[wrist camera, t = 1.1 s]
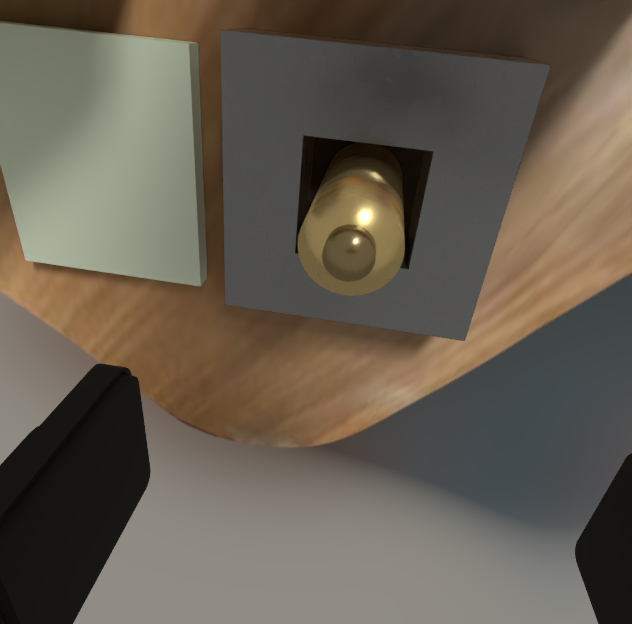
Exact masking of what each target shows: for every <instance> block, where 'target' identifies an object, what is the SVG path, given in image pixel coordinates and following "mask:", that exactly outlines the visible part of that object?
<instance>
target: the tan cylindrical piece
mask: <svg viewBox="0 0 632 624" xmlns="http://www.w3.org/2000/svg"><path fill="white" fill-rule="evenodd" d="M404 252H405V238H404V210H403V182H402V171H401V168H400V165H399V163H398V161H397V159H396V158H395V156H394V155H393V154H392V153H391V152H390V151H389V150H388V149H386V148H385V147H383V146H381V145H378V144H370V143H362V142H358V143H354V144H351V145H349V146H347V147H345V148H343V149H342V150H341V151H339V152H338V153H337V154H336V156H335V157H334V158H333V160H332V161H331V163H330V165H329V167H328V170H327V172H326V174H325V176H324V178H323V181H322V183H321V185H320V187H319V189H318V191H317V194H316V196H315V198H314V200H313V202H312V205H311V207H310V209H309V211H308V213H307V215H306V218H305V220H304V222H303V224H302V226H301V229H300V232H299V236H298V254H299V258H300V261H301V263H302V266H303V267H304V269H305V271H306V272H307V274H308V275H309V276H310V277H311V278H312V279H313V280H314V281H315V282H316V283H317V284H318V285H320V286H321V287H323V288H325V289H327V290H329V291H331V292H334V293H337V294H342V295H349V296H355V295H364V294H368V293H371V292H374V291H376V290H378V289H380V288H382V287H383V286H385V285H386V284H387V283H388V282H390V281H391V280H392V279H393V277H394V276H395V275H396V274H397V272H398V270H399V269H400V266H401V264H402V262H403V258H404Z"/></svg>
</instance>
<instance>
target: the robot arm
mask: <svg viewBox="0 0 632 624" xmlns="http://www.w3.org/2000/svg"><path fill="white" fill-rule="evenodd" d="M149 478H150V463H149V456H148V448H147V441H146V433H145V425H144V418H143V411H142V402H141V395H140V387H139V381H138V378H137V377H135V376H132V375H131V372H130V370H129V369H128V368H126V367H119V366H113V365H106V364H96V365H95V366H94V367H93V368H92V369H91V370H90V371H89V372H88V373H87V374H86V375H85V377H83V379H82V380H81V381H80V382H79V383H78V384H77V385H76V386H75V388H74V389H73V390H72V391H71V392H70V393H69V394H68V395H67V396H66V397H65V398H64V400H63V401H62V402H61V403H60V404H59V405H58V406H57V407H56V408H55V409H54V411H53V412H52V413H51V414H50V415H49V416H48V417H47V418H46V420H45V421H44V422H43V423H42V424H41V425H40V426H38V427H36V428H35V429H34V430H33V431H32V432H31V433H29V434H28V436H27V437H26V438H25V439H24V440H23V441H22V442H21V443H20V444H19V445H18V447H17V448H16V449H15V450H14V451H13V452H12V453H11V454H10V455H9V456H8V457H7V458H6V460H5V461H4V462H3V463H2V464H1V465H0V624H73V622H74V621H75V619H76V617H77V615H78V613H79V611H80V609H81V608H82V606H83V604H84V602H85V600H86V598H87V596H88V595H89V593H90V591H91V589H92V587H93V585H94V584H95V582H96V580H97V578H98V576H99V574H100V573H101V571H102V569H103V567H104V565H105V563H106V561H107V560H108V558H109V556H110V554H111V552H112V550H113V549H114V547H115V545H116V543H117V541H118V539H119V537H120V535H121V534H122V532H123V530H124V528H125V526H126V524H127V522H128V521H129V519H130V517H131V515H132V513H133V511H134V510H135V508H136V506H137V504H138V502H139V501H140V499H141V497H142V495H143V493H144V491H145V490H146V487H147V485H148V482H149ZM575 555H576V562H577V565H578V568H579V571H580V573H581V576H582V579H583V582H584V584H585V587H586V590H587V593H588V596H589V598H590V601H591V604H592V607H593V610H594V612H595V615H596V618H597V621H598V624H632V454H630V455H628V456H627V457H626V459H625V461H624V463H623V464H622V466H621V467H620V469H619V471H618V473H617V474H616V476H615V478H614V480H613V481H612V483H611V485H610V486H609V488H608V490H607V492H606V493H605V495H604V496H603V498H602V500H601V502H600V503H599V505H598V507H597V508H596V510H595V512H594V514H593V515H592V517H591V519H590V521H589V522H588V524H587V526H586V528H585V529H584V531H583V533H582V534H581V536H580V538H579V539H578V541H577V544H576V548H575Z"/></svg>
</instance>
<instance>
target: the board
mask: <svg viewBox="0 0 632 624" xmlns="http://www.w3.org/2000/svg"><path fill="white" fill-rule="evenodd" d="M0 165H1V169H2V173H3V177H4V180H5V184H6V188H7V192H8V196H9V199H10V203H11V207H12V211H13V215H14V218H15V222H16V226H17V230H18V233H19V237H20V241H21V245H22V249H23V252H24V256H25V260H26V261H33V262H39V263H46V264H53V265H60V266H66V267H73V268H80V269H86V270H93V271H100V272H106V273H113V274H120V275H127V276H133V277H140V278H147V279H153V280H160V281H167V282H173V283H180V284H187V285H194V286H200V287H201V285H202V284H203V283H204V281H205V280H206V279H207V255H206V230H205V205H204V179H203V154H202V129H201V104H200V78H199V53H198V42H189V41H180V40H171V39H162V38H153V37H144V36H134V35H125V34H116V33H107V32H98V31H89V30H80V29H71V28H61V27H52V26H43V25H34V24H25V23H16V22H7V21H0Z"/></svg>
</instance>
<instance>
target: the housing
mask: <svg viewBox="0 0 632 624" xmlns="http://www.w3.org/2000/svg"><path fill="white" fill-rule="evenodd" d="M220 39H221V96H222V152H223V209H224V265H225V305H231V306H238V307H244V308H251V309H257V310H264V311H271V312H277V313H284V314H290V315H297V316H304V317H310V318H317V319H323V320H330V321H337V322H343V323H350V324H356V325H363V326H370V327H376V328H383V329H389V330H396V331H403V332H409V333H416V334H422V335H429V336H436V337H442V338H449V339H455V340H462V341H465V339H466V335H467V332H468V329H469V326H470V323H471V319H472V316H473V313H474V310H475V307H476V303H477V300H478V297H479V294H480V291H481V287H482V284H483V281H484V278H485V275H486V271H487V268H488V265H489V262H490V258H491V255H492V252H493V249H494V246H495V242H496V239H497V236H498V233H499V230H500V226H501V223H502V220H503V217H504V214H505V210H506V207H507V204H508V201H509V198H510V194H511V191H512V188H513V185H514V181H515V178H516V175H517V172H518V169H519V165H520V162H521V159H522V156H523V153H524V149H525V146H526V143H527V140H528V137H529V133H530V130H531V127H532V124H533V121H534V117H535V114H536V111H537V108H538V104H539V101H540V98H541V95H542V92H543V88H544V85H545V82H546V79H547V76H548V72H549V69H550V66H551V65H548V64H545V63H541V62H538V61H535V60H531V59H528V58H521V57H512V56H502V55H493V54H484V53H474V52H465V51H455V50H446V49H437V48H427V47H418V46H408V45H399V44H390V43H380V42H371V41H361V40H352V39H343V38H333V37H324V36H314V35H305V34H296V33H286V32H277V31H267V30H258V29H249V28H244V29H227V30H220ZM315 137H321V138H329V139H337V140H346V141H354V142H362V143H370V144H378V145H386V146H395V147H403V148H411V149H419V150H425V151H424V156H423V161H422V166H421V171H420V176H419V181H418V186H417V191H416V196H415V201H414V205H413V210H412V215H411V220H410V225H409V230H408V235H407V237H404V238H405V252H404V258H403V262H402V264H401V266H400V269H399V270H398V272H397V274H396V275H395V276H394V277H393V279H392V280H391V281H390V282H388V283H387V284H386V285H385V286H383V287H382V288H380V289H378V290H376V291H374V292H371V293H368V294H364V295H355V296H349V295H342V294H337V293H334V292H331V291H329V290H327V289H325V288H323V287H321V286H320V285H318V284H317V283H316V282H315V281H314V280H313V279H312V278H311V277H310V276H309V275H308V274H307V272H306V271H305V269H304V267H303V266H302V263H301V261H300V258H299V254H298V236H299V232H300V229H301V226H302V224H303V222H304V220H305V218H306V215H307V213H308V211H309V202H310V190H311V178H312V165H313V153H314V141H315Z"/></svg>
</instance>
